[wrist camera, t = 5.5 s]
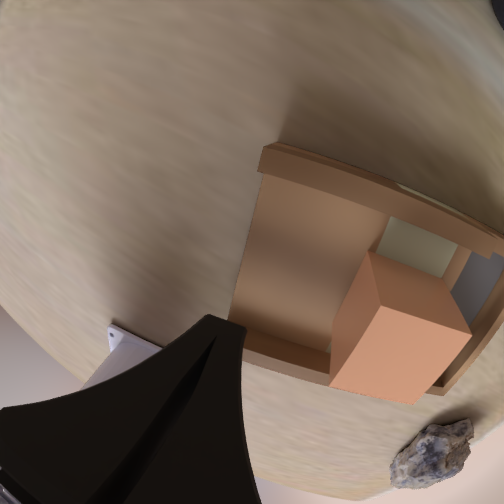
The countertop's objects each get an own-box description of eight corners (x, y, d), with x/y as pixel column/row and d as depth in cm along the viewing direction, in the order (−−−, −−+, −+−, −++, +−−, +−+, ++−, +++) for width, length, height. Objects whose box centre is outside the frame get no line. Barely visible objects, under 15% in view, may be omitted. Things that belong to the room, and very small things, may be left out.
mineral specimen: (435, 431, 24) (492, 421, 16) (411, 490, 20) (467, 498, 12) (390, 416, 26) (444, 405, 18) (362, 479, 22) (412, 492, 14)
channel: (438, 376, 17) (446, 409, 14) (231, 317, 18) (214, 350, 16) (521, 246, 11) (548, 270, 9) (277, 142, 13) (263, 146, 10)
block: (401, 343, 14) (412, 404, 10) (332, 322, 15) (328, 386, 11) (442, 278, 12) (472, 335, 8) (367, 250, 13) (380, 305, 9)
